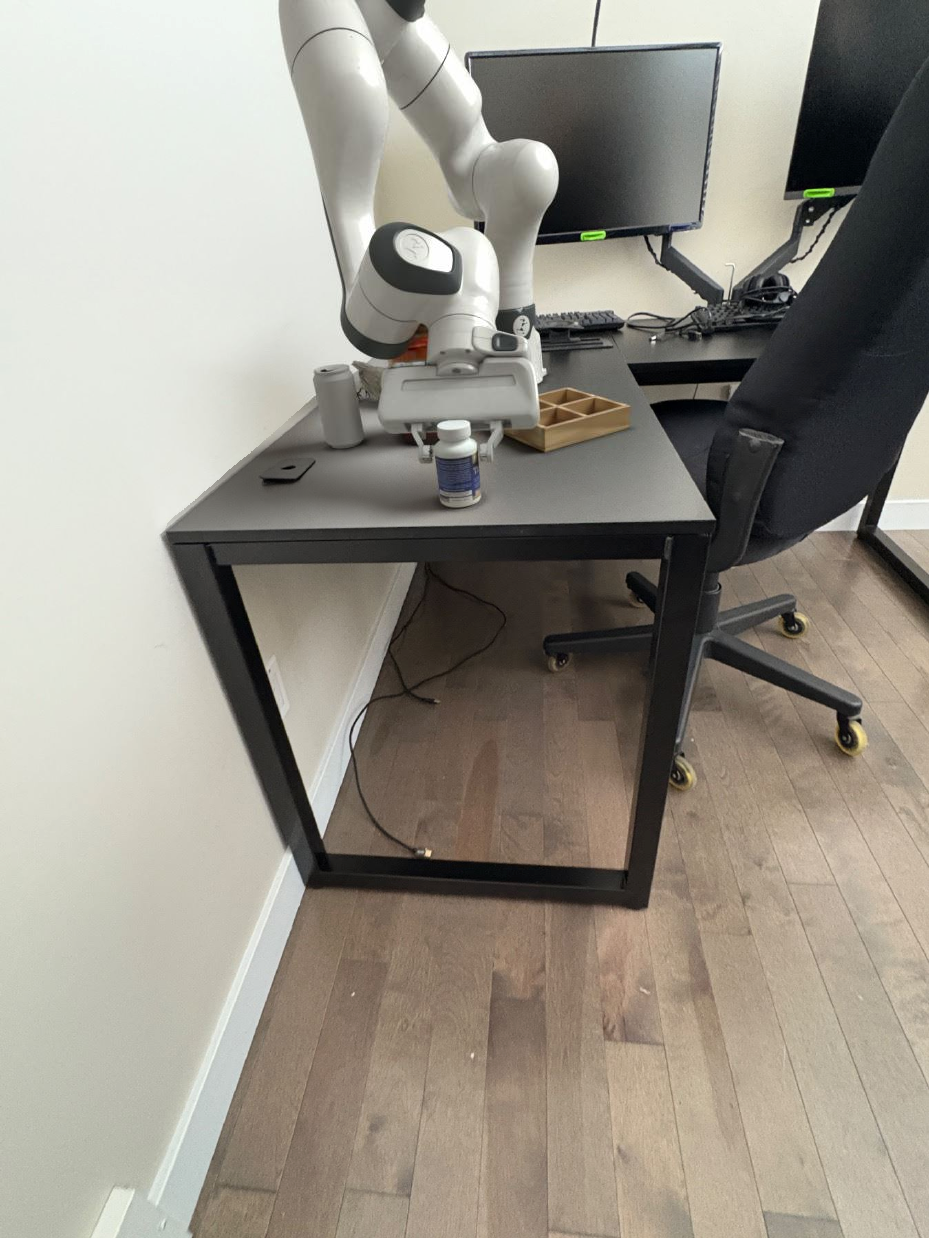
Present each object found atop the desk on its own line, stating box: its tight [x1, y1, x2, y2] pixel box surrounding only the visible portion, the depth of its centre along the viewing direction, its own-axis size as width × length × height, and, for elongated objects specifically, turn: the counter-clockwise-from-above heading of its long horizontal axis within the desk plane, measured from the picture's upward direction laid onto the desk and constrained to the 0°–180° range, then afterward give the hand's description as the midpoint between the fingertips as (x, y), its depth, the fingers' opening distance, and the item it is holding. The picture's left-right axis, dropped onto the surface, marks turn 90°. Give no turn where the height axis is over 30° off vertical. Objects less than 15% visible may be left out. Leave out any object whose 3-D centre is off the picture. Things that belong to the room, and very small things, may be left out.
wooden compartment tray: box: [503, 386, 631, 453], centre depth 96 cm, size 16×16×4 cm
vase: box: [387, 323, 440, 446], centre depth 95 cm, size 11×11×20 cm
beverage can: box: [312, 363, 365, 449], centre depth 97 cm, size 6×6×12 cm
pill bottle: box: [433, 420, 482, 508], centre depth 74 cm, size 5×5×10 cm
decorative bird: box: [351, 360, 387, 402], centre depth 117 cm, size 5×16×7 cm, turn 50°
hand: (455, 461), depth 74 cm, fingers open, 6 cm apart
